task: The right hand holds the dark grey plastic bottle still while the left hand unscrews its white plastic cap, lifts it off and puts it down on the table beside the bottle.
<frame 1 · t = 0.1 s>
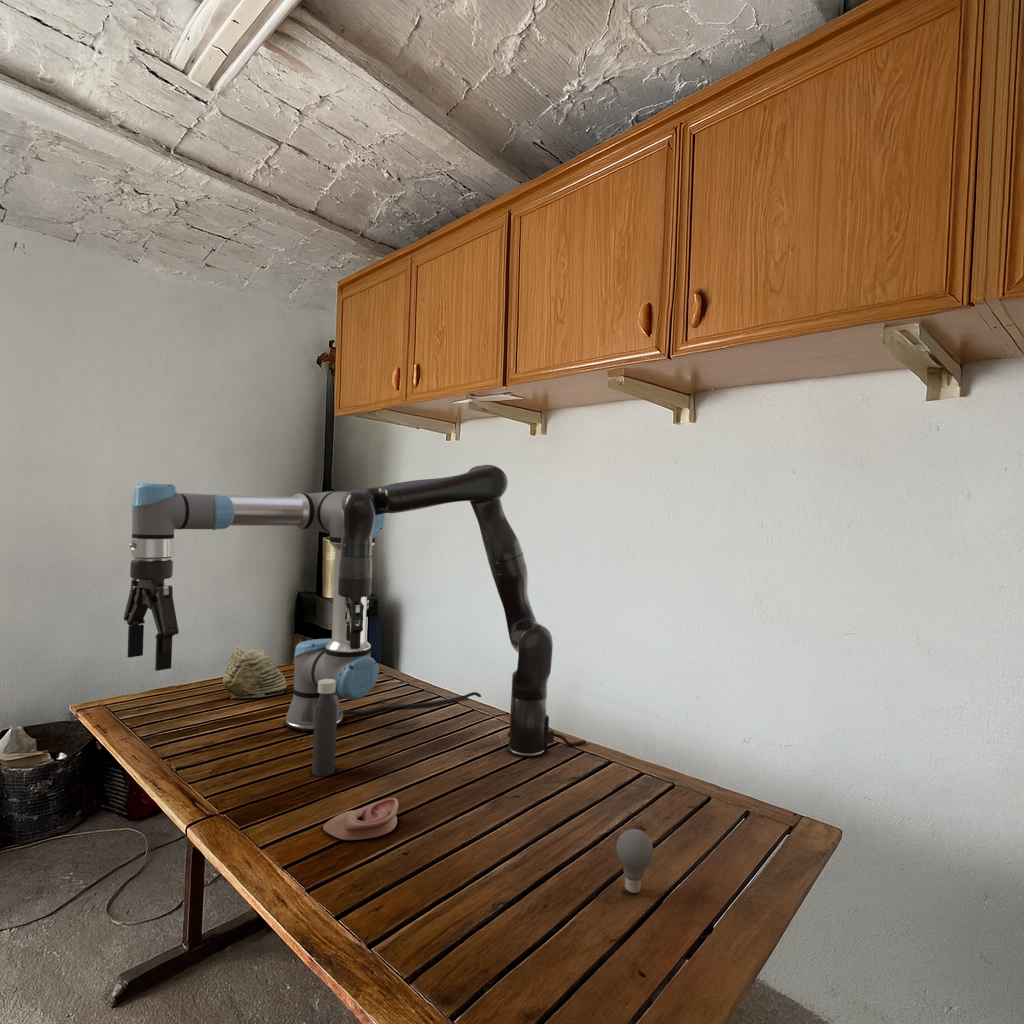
left hand: (148, 662, 129), 28 cm above the table, tool pointing down, fingers open, 13 cm apart
right hand: (352, 644, 147), 29 cm above the table, tool pointing down, fingers open, 8 cm apart
bottle: (323, 771, 146), on the table
cap: (326, 682, 146), point 21 cm above the table, screwed on, not yet turned
fossil: (254, 694, 198), on the table
anatomical model: (361, 826, 122), on the table
light bulb: (632, 891, 106), on the table
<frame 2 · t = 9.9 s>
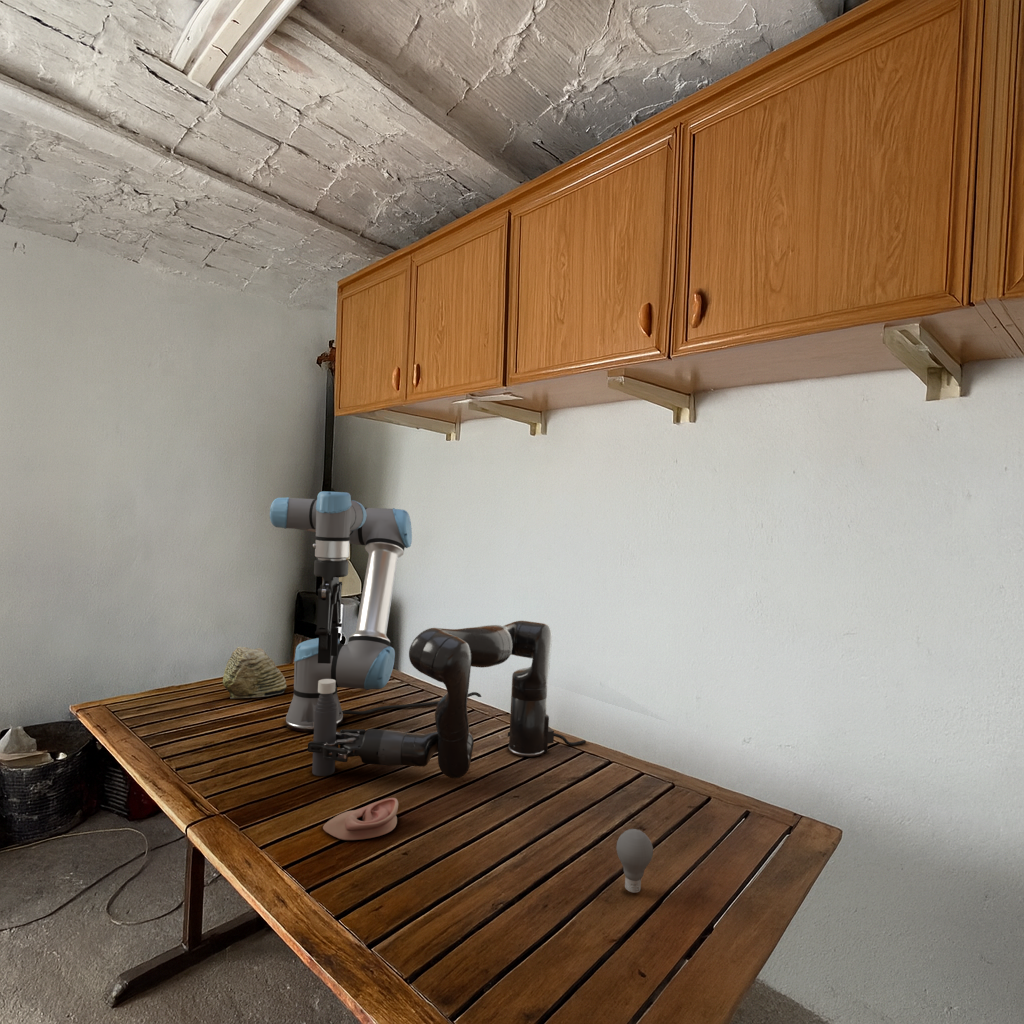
left hand: (327, 658, 145), 26 cm above the table, tool pointing down, fingers open, 6 cm apart
right hand: (313, 741, 146), 7 cm above the table, tool horizontal, fingers closed on bottle, 5 cm apart
bottle: (323, 771, 146), on the table, touching right hand
everything else where it was.
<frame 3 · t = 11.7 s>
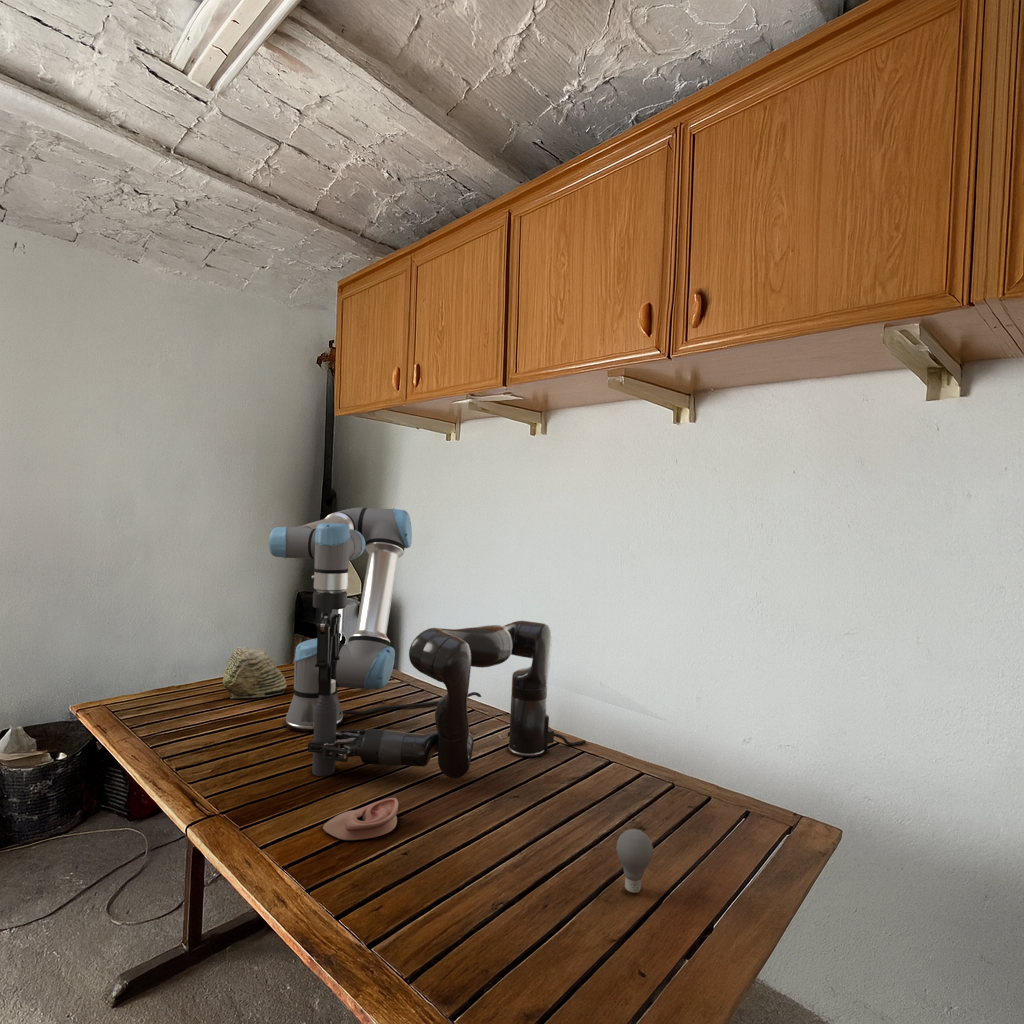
left hand: (326, 691, 146), 19 cm above the table, tool pointing down, fingers closed on cap, 4 cm apart
right hand: (313, 741, 146), 7 cm above the table, tool horizontal, fingers closed on bottle, 5 cm apart
bottle: (323, 771, 146), on the table, touching right hand
cap: (326, 682, 146), point 21 cm above the table, screwed on, not yet turned, touching left hand
everything else where it was.
when the left hand's fingers open (2 cm above the table, at t = 25.4 s): cap drops 2 cm, point 2 cm above the table.
when the right hand's fingers open (7 cm above the table, at t = 26.7 s): bottle stays where it is, on the table.
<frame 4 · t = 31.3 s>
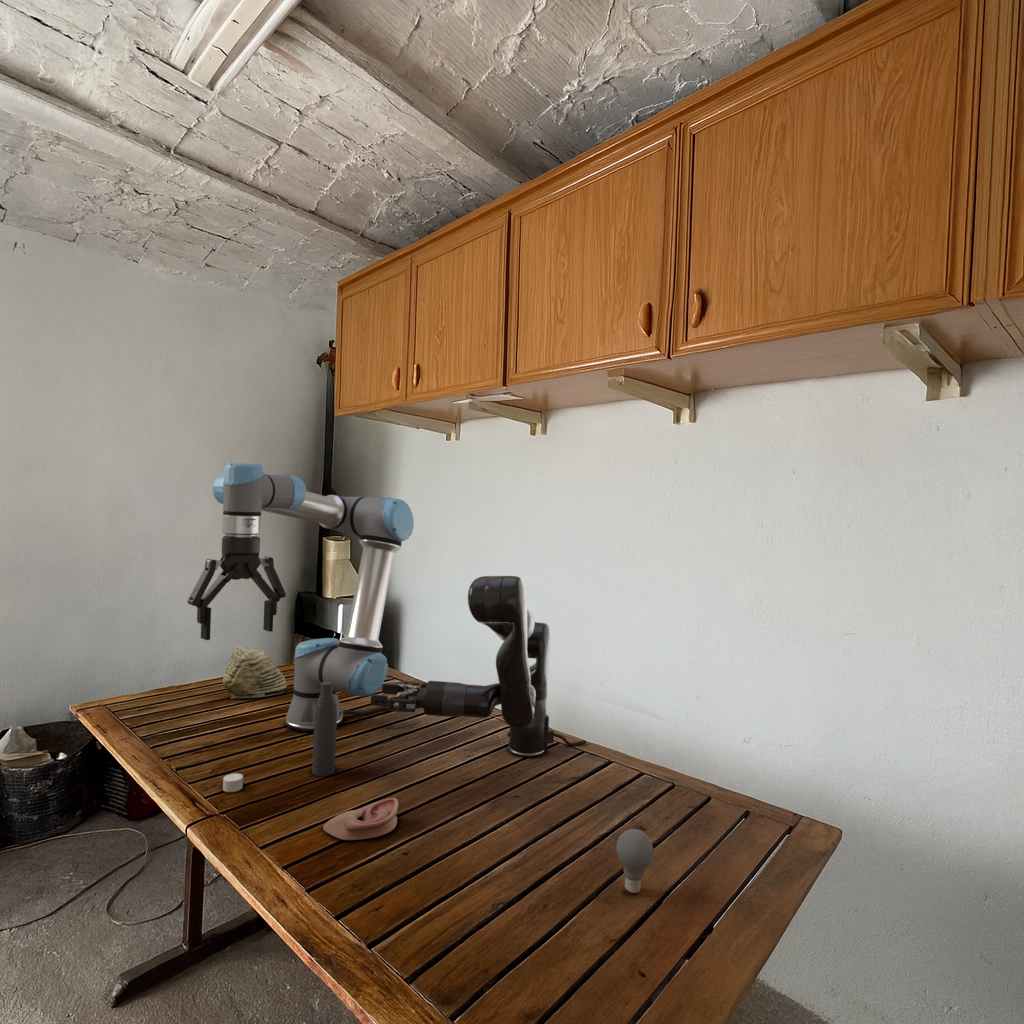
left hand: (237, 634, 135), 33 cm above the table, tool pointing down, fingers open, 13 cm apart
right hand: (377, 694, 145), 19 cm above the table, tool horizontal, fingers open, 8 cm apart
bottle: (323, 771, 146), on the table
cap: (233, 778, 136), point 2 cm above the table, off its thread
everything else where it was.
at the end: cap came off its thread; cap point 2.1 cm above the table; the left hand is holding nothing; the right hand is holding nothing; bottle tilted 0°; bottle moved 0.0 cm from its start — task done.
